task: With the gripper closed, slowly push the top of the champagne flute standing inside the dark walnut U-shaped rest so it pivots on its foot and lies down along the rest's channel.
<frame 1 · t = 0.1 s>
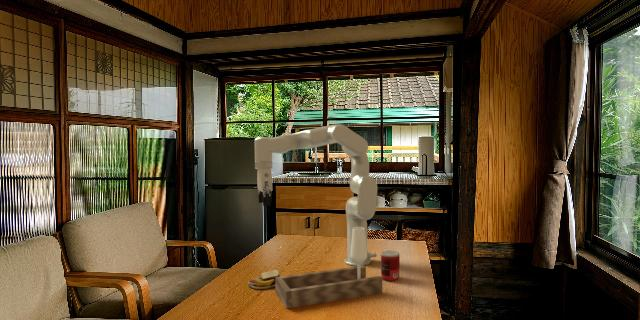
hand: (264, 204, 173), 31 cm above the table, tool pointing down, fingers open, 9 cm apart
toy sandwich meal: (264, 284, 162), on the table
canned food: (390, 279, 167), on the table
champagne flute: (359, 288, 156), on the table
walnut U-rest: (328, 292, 152), on the table
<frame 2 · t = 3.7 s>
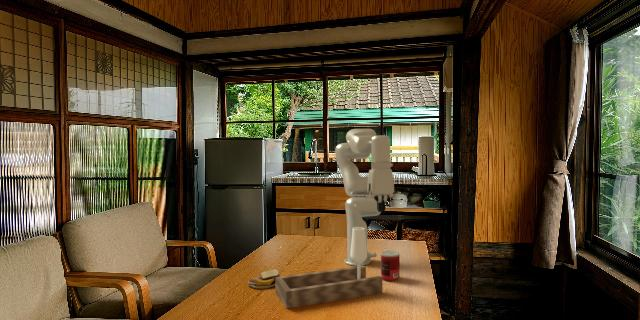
hand: (381, 211, 158), 30 cm above the table, tool pointing down, fingers closed
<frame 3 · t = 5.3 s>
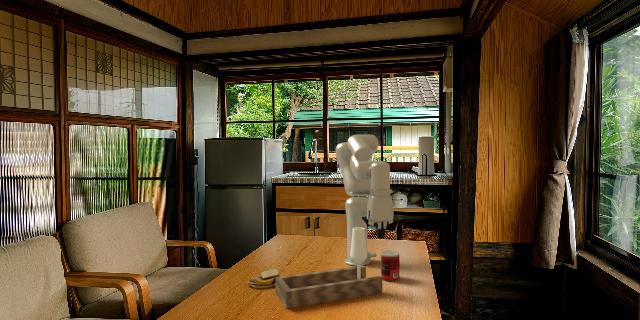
hand: (380, 238, 159), 19 cm above the table, tool pointing down, fingers closed
nothing on the table moved.
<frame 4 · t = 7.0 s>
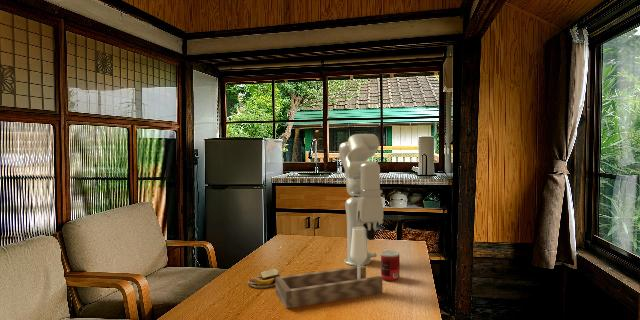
hand: (370, 239, 157), 19 cm above the table, tool pointing down, fingers closed
champagne flute: (359, 288, 156), on the table, touching gripper
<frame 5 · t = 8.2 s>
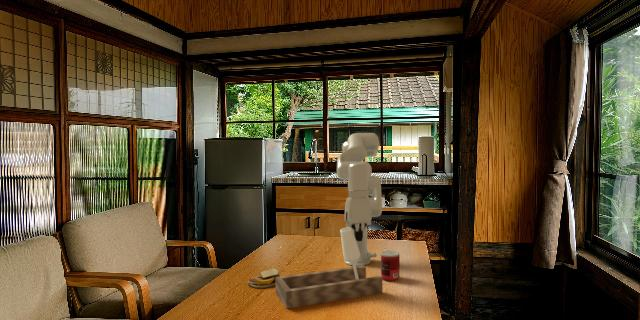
hand: (358, 240, 155), 19 cm above the table, tool pointing down, fingers closed
champagne flute: (359, 286, 156), point 1 cm above the table
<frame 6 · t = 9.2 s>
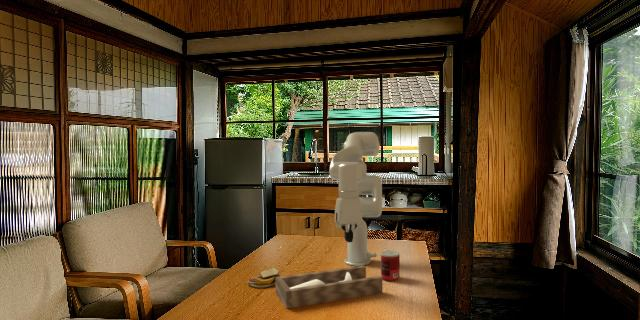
hand: (348, 241, 154), 19 cm above the table, tool pointing down, fingers closed
champagne flute: (349, 280, 152), point 5 cm above the table, touching walnut U-rest
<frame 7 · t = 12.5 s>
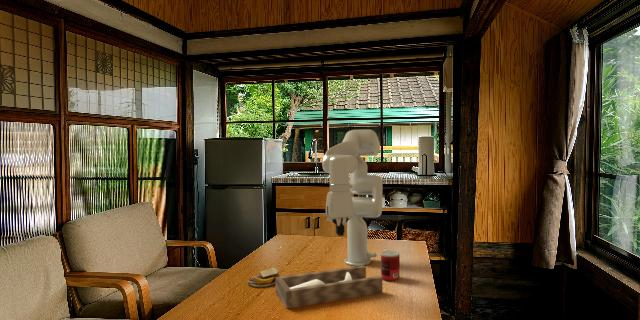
hand: (340, 235, 153), 22 cm above the table, tool pointing down, fingers closed
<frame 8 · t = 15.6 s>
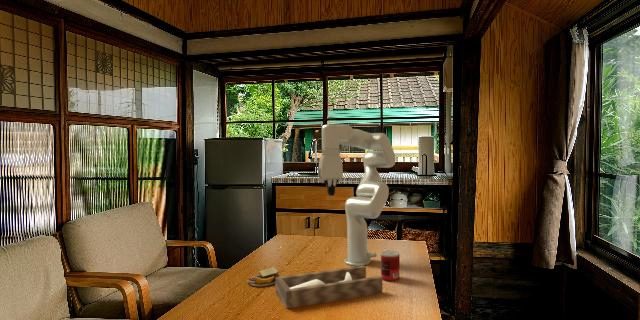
hand: (331, 195, 171), 35 cm above the table, tool pointing down, fingers closed
at the end: champagne flute tilted 95°; champagne flute inside the target area on the walnut U-rest (6.9 cm from its centre), point 4.6 cm above the walnut U-rest's base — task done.
